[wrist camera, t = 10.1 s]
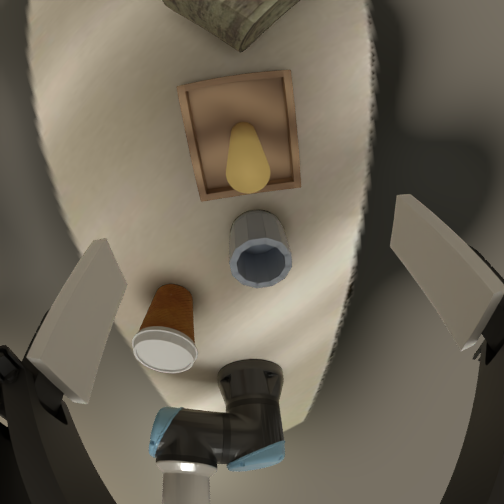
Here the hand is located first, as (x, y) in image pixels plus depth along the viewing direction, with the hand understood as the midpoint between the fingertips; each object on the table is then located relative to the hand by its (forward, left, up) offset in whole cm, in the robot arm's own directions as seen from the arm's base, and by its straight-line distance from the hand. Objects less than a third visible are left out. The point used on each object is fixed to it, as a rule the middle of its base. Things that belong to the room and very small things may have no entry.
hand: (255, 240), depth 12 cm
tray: (0, 0, -23) cm, 23 cm away
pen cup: (-14, 0, -23) cm, 27 cm away
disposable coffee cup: (-24, +15, -23) cm, 36 cm away
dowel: (0, 0, -22) cm, 22 cm away
